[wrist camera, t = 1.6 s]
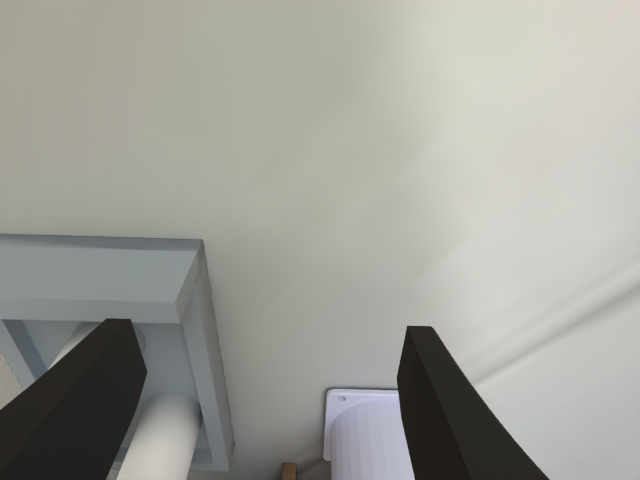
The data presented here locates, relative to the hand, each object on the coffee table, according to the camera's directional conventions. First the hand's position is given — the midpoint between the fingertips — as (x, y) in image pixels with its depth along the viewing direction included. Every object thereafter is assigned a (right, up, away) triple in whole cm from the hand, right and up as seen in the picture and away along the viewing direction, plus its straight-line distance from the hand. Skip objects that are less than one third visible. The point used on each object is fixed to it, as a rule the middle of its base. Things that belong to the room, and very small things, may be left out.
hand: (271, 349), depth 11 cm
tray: (-10, -4, +14) cm, 18 cm away
